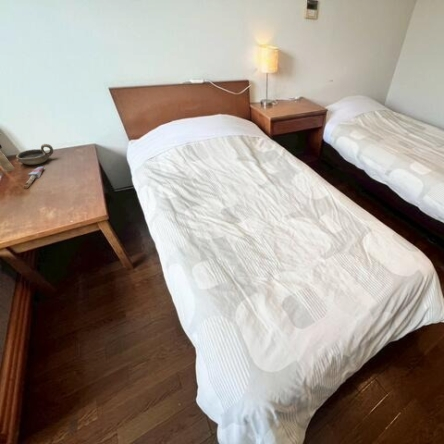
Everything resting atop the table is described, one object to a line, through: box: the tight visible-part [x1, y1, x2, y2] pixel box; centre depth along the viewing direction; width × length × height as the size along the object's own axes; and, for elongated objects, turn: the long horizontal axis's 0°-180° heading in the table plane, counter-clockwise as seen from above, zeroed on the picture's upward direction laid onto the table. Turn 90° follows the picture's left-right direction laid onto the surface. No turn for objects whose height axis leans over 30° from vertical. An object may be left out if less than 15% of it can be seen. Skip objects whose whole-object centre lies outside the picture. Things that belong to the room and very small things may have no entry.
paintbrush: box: [22, 165, 45, 190], centre depth 137 cm, size 4×3×20 cm
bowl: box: [16, 143, 54, 166], centre depth 146 cm, size 14×18×10 cm
